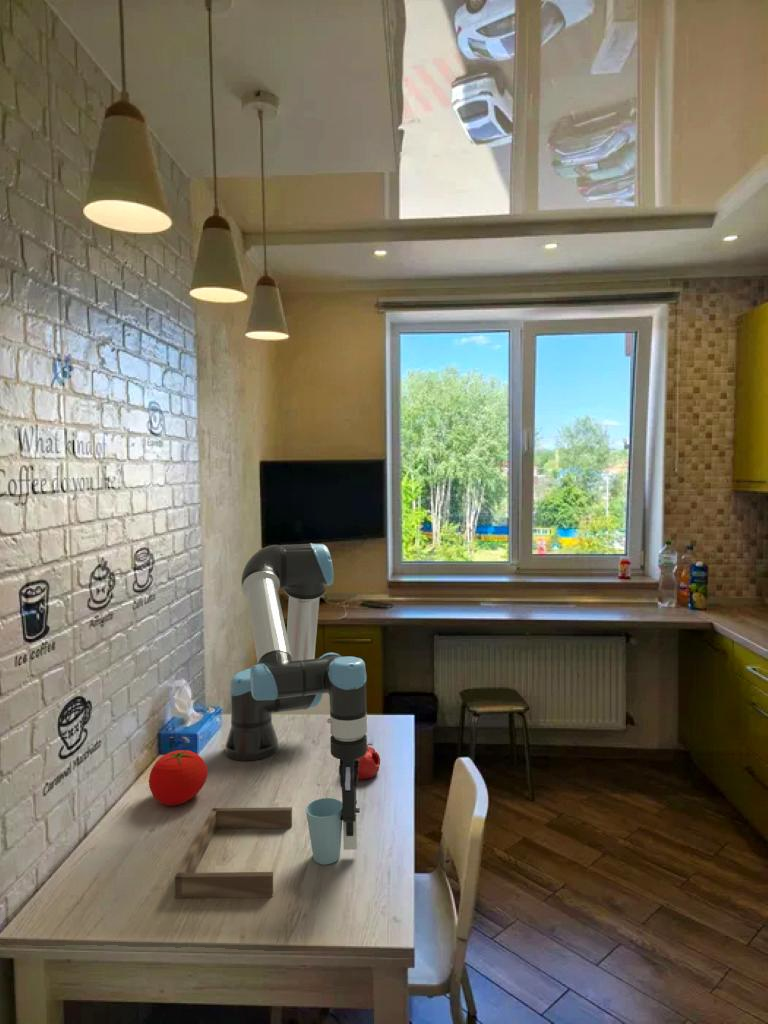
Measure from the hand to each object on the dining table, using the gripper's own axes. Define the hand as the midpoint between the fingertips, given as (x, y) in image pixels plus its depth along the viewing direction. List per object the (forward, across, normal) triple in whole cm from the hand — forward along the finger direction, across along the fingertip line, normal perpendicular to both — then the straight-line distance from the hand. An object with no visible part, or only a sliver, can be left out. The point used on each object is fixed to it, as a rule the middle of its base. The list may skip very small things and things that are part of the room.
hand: (350, 847), depth 122 cm
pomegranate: (+2, -36, +1) cm, 36 cm away
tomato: (+2, -24, -44) cm, 50 cm away
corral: (+2, 0, -23) cm, 23 cm away
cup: (+2, 0, -5) cm, 5 cm away
